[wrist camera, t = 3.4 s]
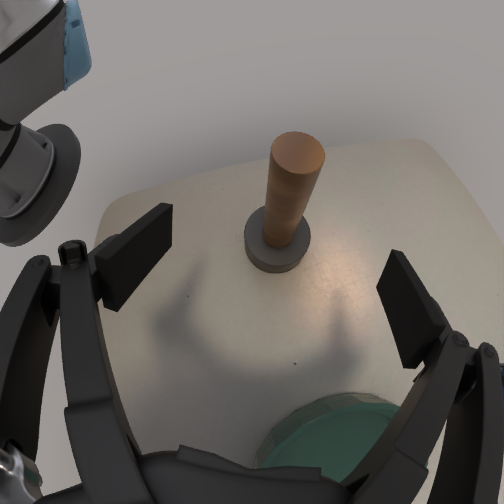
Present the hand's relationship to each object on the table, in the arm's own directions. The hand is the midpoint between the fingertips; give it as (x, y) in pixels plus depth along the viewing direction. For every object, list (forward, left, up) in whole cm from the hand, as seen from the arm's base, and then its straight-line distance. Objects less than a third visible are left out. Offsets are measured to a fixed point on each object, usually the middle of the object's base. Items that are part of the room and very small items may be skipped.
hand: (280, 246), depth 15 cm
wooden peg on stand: (0, +4, -11) cm, 12 cm away
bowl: (+11, -18, -11) cm, 24 cm away
